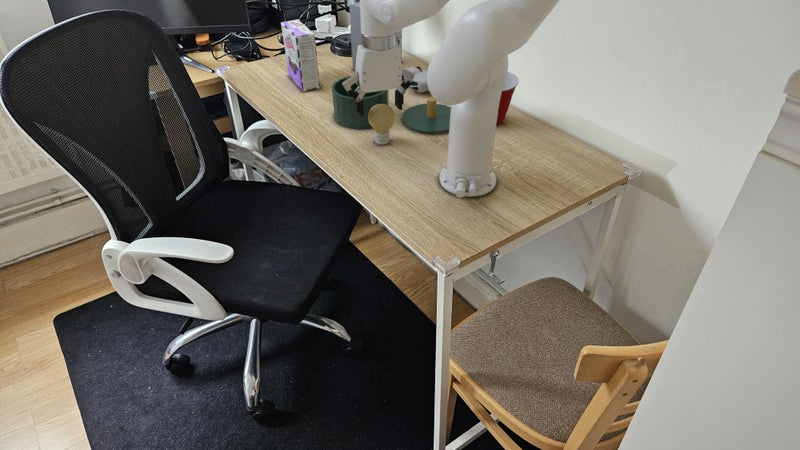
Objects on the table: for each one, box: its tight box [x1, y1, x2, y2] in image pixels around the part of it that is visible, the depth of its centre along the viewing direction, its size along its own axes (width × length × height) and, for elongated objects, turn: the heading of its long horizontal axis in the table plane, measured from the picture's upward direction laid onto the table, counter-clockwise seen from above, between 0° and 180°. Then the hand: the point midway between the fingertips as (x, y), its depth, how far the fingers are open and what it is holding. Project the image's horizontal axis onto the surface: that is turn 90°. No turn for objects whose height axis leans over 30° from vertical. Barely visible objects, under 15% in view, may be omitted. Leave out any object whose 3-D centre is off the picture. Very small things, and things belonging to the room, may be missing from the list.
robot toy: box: [402, 66, 430, 94], centre depth 153 cm, size 12×4×15 cm
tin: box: [331, 75, 390, 130], centre depth 137 cm, size 15×15×8 cm
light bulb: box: [368, 104, 395, 146], centre depth 126 cm, size 6×6×10 cm
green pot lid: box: [401, 96, 451, 134], centre depth 136 cm, size 16×16×6 cm
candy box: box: [280, 18, 321, 92], centre depth 152 cm, size 14×6×16 cm, turn 27°
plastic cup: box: [496, 71, 520, 127], centre depth 133 cm, size 11×11×12 cm
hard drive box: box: [349, 1, 403, 71], centre depth 160 cm, size 16×8×20 cm, turn 136°
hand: (379, 110), depth 124 cm, fingers open, 9 cm apart
